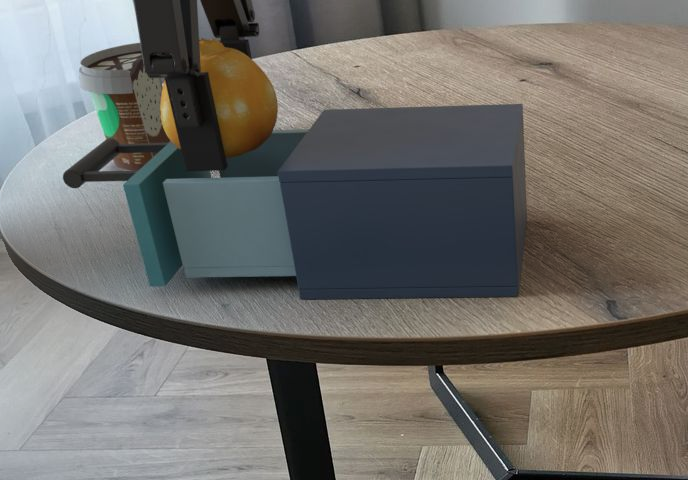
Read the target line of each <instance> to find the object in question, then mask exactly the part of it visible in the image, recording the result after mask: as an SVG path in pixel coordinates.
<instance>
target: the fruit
mask: <svg viewBox="0 0 688 480" xmlns="http://www.w3.org/2000/svg"><path fill="white" fill-rule="evenodd" d="M220 41H221V40H218V39H217V38H209V39H206V38H204V37H199V47H200V66H201V72H208V75H209V79H210V84H211V89H212V94H213V99H214V104H215V108H216V113H217V118H218V123H219V128H220V133H221V137H222V142H223V147H224V152H225V157H226V158H231V157H236V156H240V155H242V154H245V153H247V152H250V151H253V150H255V149H257V148H258V147H260V146H261V145H262V144H263V143H264V142H265V141H266V140H267V139H268V137H269V136H270V134H271V133H272V131H273V130H275V126H276V123H277V120H278V111H279V109H278V98H277V94H276V90H275V88H274V85H273V83H272V82H271V80H270V79H269V77H268V75H267V74H266V73H265V72H264V70H263V69H262V68H261V67H260V66H259V65H258V64H257V63H256V62H255V61H254V60H253V58H252V59H251V58H249V57H248V56H247V55H245V54H244V53H242V52H240V51H238V50H236V49H233V48H226V47H224V46H223V44H222V43H221V42H220ZM162 86H163V89H162V95H161V105H160V112H161V121H162V125H163V128H164V131H165V133H166V135H167V136H168V138H169V139H170V140H171V142H172V143H173V144H174V145H175V146H177V147H178V148H179V149H180V150H181V148H180V143H179V139H178V135H177V130H176V126H175V122H174V117H173V113H172V109H171V104H170V100H169V96H168V91H167V87H166V83H165V80H163V83H162Z"/></svg>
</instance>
